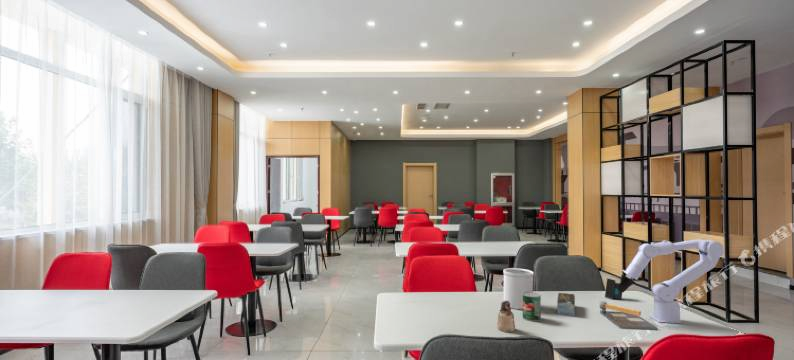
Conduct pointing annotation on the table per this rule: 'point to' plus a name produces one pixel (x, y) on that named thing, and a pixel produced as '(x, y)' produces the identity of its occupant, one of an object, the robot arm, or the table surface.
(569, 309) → the beverage carton
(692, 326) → the table surface
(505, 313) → the figurine
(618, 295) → the speaker
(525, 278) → the utensil holder
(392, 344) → the table surface
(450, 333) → the table surface
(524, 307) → the canned tomato
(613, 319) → the panel
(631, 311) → the swing arm
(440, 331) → the table surface
